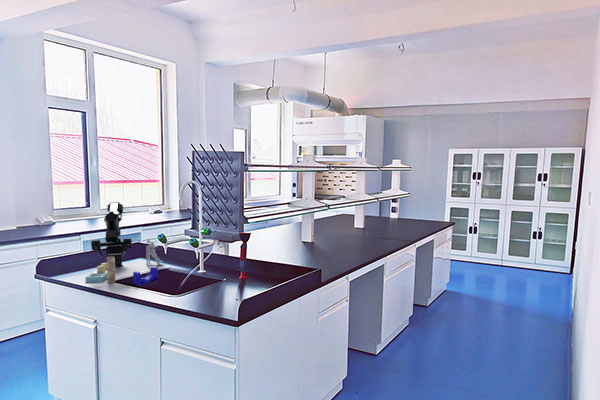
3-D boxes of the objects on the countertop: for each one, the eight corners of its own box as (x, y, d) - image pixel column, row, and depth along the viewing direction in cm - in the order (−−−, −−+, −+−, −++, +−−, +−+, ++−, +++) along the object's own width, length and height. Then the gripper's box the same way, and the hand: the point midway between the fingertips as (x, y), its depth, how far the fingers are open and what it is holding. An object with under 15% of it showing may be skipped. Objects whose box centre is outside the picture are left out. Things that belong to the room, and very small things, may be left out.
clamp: (161, 266, 227) (161, 240, 226) (145, 265, 227) (144, 240, 226) (164, 264, 231) (164, 238, 230) (148, 263, 232) (147, 238, 230)
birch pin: (114, 280, 199) (113, 256, 197) (116, 282, 196) (115, 257, 195) (106, 281, 196) (105, 257, 195) (108, 283, 194) (107, 258, 192)
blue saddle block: (139, 285, 192) (139, 273, 192) (133, 284, 194) (133, 272, 194) (159, 279, 203) (159, 268, 202) (153, 278, 205) (153, 266, 204)
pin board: (99, 272, 212) (98, 262, 212) (114, 272, 213) (114, 262, 213) (85, 282, 195) (85, 271, 195) (102, 281, 196) (102, 271, 196)
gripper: (90, 224, 199) (88, 250, 190) (131, 223, 206) (131, 248, 197) (93, 237, 207) (91, 263, 198) (131, 235, 214) (131, 260, 205)
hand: (111, 258), depth 199 cm, fingers open, 9 cm apart
